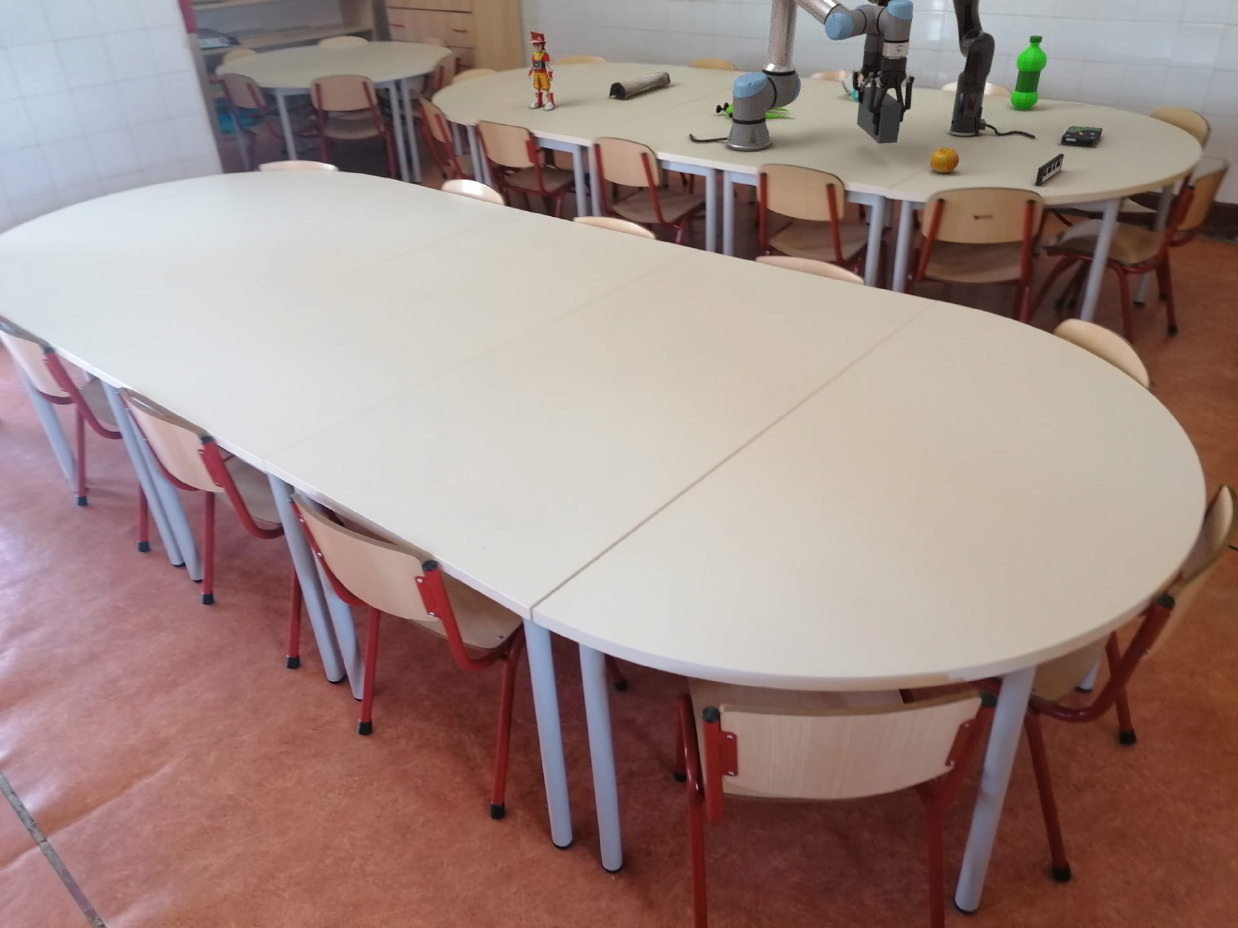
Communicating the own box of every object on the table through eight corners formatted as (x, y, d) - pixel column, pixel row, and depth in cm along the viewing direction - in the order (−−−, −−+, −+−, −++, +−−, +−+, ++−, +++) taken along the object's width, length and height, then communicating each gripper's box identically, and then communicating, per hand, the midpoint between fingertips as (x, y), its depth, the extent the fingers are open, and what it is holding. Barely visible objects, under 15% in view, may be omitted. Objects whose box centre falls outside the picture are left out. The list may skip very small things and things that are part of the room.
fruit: (924, 163, 281) (941, 140, 278) (925, 165, 289) (941, 143, 286) (946, 178, 280) (963, 155, 277) (947, 180, 288) (963, 158, 285)
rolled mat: (651, 76, 408) (662, 61, 399) (662, 93, 408) (674, 79, 400) (605, 92, 391) (616, 77, 383) (617, 110, 391) (628, 95, 383)
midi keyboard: (1039, 185, 269) (1043, 168, 266) (1035, 184, 270) (1038, 168, 267) (1060, 170, 279) (1064, 154, 277) (1056, 169, 280) (1060, 153, 277)
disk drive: (1093, 148, 297) (1100, 136, 307) (1095, 139, 295) (1103, 127, 305) (1060, 144, 302) (1068, 133, 312) (1062, 136, 300) (1070, 124, 310)
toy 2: (706, 117, 350) (777, 129, 338) (708, 103, 348) (779, 115, 335) (737, 106, 371) (804, 117, 358) (738, 93, 368) (807, 104, 355)
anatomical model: (837, 72, 370) (861, 66, 369) (839, 98, 376) (863, 91, 375) (847, 80, 358) (872, 73, 357) (850, 107, 364) (874, 100, 363)
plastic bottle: (1042, 108, 341) (1057, 36, 326) (1025, 113, 336) (1039, 40, 322) (1019, 103, 348) (1033, 33, 333) (1002, 108, 343) (1015, 37, 329)
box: (856, 124, 309) (860, 87, 302) (873, 122, 309) (877, 86, 303) (878, 144, 288) (883, 105, 282) (897, 142, 289) (902, 103, 282)
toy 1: (525, 109, 381) (517, 32, 364) (534, 104, 388) (527, 28, 371) (550, 110, 377) (543, 32, 360) (559, 105, 384) (553, 28, 367)
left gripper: (867, 61, 273) (860, 138, 287) (929, 56, 274) (918, 134, 287) (860, 56, 280) (853, 132, 293) (921, 52, 280) (911, 128, 293)
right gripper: (857, 52, 290) (852, 107, 299) (901, 49, 290) (894, 104, 300) (851, 48, 296) (846, 101, 306) (894, 45, 296) (888, 98, 306)
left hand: (885, 133), depth 290 cm, fingers closed on box, 6 cm apart
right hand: (870, 102), depth 303 cm, fingers closed on box, 6 cm apart
